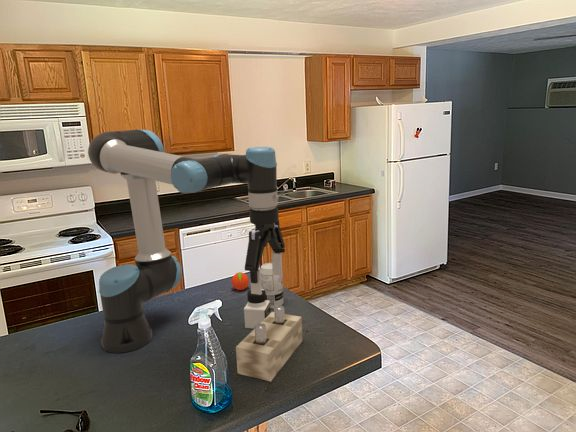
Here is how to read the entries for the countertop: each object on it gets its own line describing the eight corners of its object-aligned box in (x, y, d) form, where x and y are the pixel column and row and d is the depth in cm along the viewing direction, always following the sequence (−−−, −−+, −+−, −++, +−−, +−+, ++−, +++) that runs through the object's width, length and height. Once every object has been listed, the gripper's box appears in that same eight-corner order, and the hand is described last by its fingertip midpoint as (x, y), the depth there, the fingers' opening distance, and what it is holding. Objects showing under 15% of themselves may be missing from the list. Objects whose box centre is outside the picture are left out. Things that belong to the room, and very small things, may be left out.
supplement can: (258, 301, 160) (256, 263, 156) (280, 298, 162) (278, 260, 159) (264, 311, 152) (262, 271, 149) (286, 307, 155) (284, 268, 151)
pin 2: (273, 332, 127) (272, 308, 126) (277, 327, 130) (276, 304, 128) (282, 334, 126) (281, 310, 124) (286, 329, 129) (285, 306, 127)
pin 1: (254, 352, 117) (252, 327, 115) (259, 347, 119) (257, 322, 118) (263, 355, 116) (262, 329, 114) (268, 349, 118) (267, 324, 116)
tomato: (250, 293, 168) (249, 276, 167) (232, 294, 167) (231, 277, 166) (249, 285, 176) (248, 268, 174) (232, 286, 175) (230, 270, 174)
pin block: (237, 373, 116) (235, 346, 114) (273, 335, 136) (272, 311, 134) (270, 381, 112) (269, 354, 110) (302, 340, 132) (301, 316, 130)
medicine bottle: (265, 329, 139) (264, 295, 136) (244, 328, 141) (242, 294, 138) (271, 319, 146) (269, 286, 143) (250, 318, 147) (248, 285, 145)
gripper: (255, 219, 99) (260, 304, 104) (294, 198, 121) (296, 269, 126) (226, 217, 102) (232, 300, 107) (270, 197, 124) (273, 266, 129)
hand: (267, 283), depth 116 cm, fingers open, 13 cm apart
